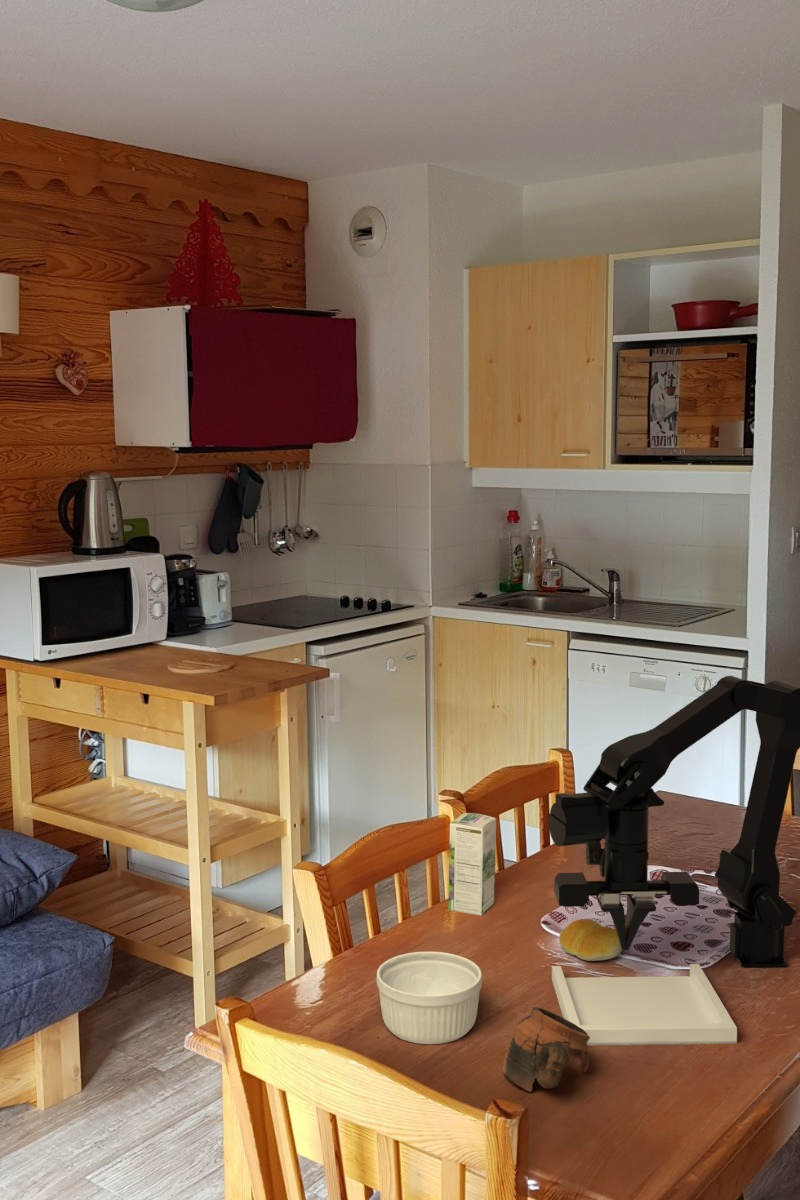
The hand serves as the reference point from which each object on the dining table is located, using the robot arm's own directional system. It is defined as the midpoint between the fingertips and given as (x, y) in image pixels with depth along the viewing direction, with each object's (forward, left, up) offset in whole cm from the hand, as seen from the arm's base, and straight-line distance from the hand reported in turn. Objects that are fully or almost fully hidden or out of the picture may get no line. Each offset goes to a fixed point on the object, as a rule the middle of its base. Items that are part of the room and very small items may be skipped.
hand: (624, 949), depth 163 cm
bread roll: (0, -7, -4) cm, 9 cm away
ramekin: (+27, +13, -4) cm, 30 cm away
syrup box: (+19, -25, -4) cm, 32 cm away
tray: (0, +10, -4) cm, 10 cm away
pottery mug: (+15, +27, -5) cm, 32 cm away
